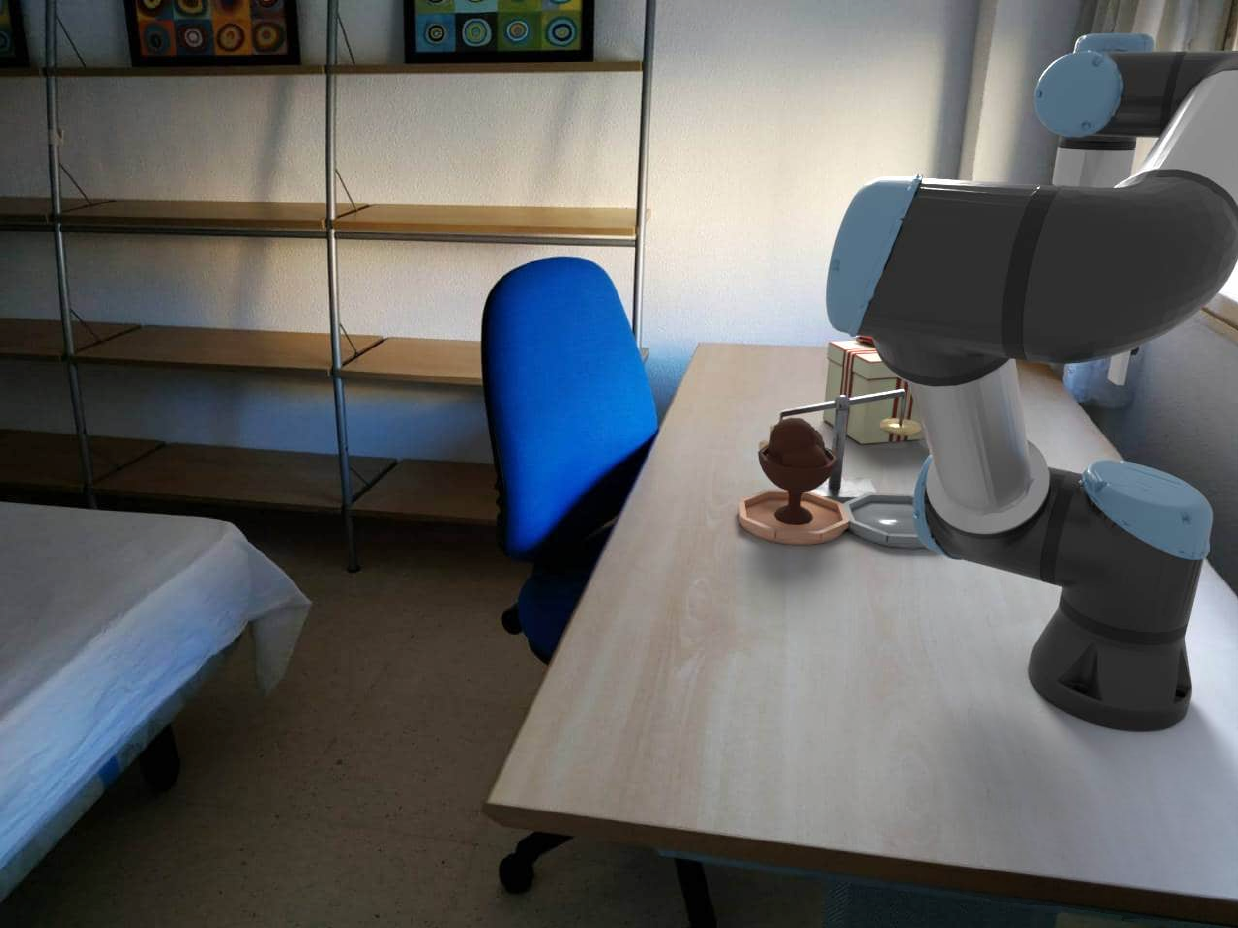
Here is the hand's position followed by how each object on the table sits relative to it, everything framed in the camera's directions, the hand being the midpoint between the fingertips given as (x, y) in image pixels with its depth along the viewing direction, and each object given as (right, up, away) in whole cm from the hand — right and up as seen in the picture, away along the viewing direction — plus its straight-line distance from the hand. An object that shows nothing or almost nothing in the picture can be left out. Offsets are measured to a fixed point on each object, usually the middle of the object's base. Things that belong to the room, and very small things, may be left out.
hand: (1054, 380), depth 113 cm
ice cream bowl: (-25, -17, +27) cm, 41 cm away
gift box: (-2, -3, +66) cm, 66 cm away
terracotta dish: (-26, -18, +27) cm, 41 cm away
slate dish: (-11, -18, +26) cm, 34 cm away
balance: (-17, -14, +37) cm, 43 cm away
